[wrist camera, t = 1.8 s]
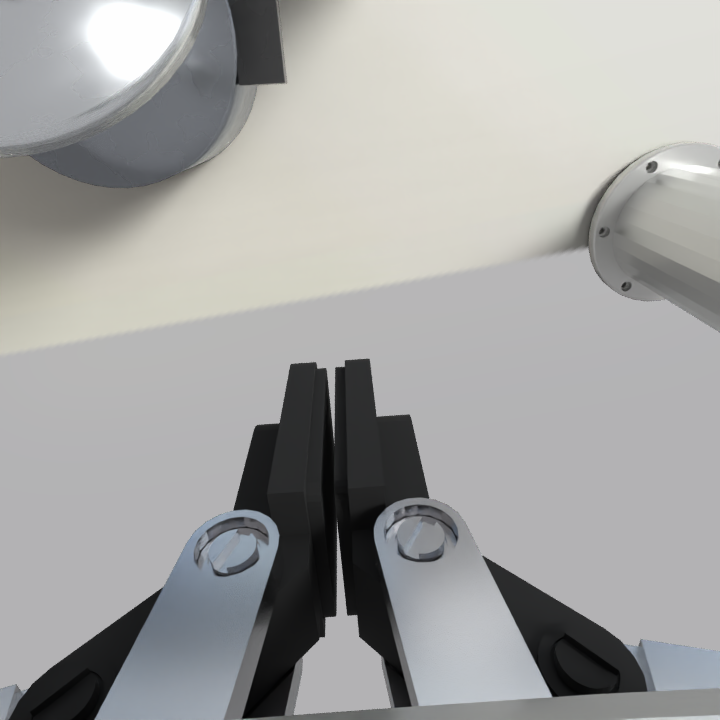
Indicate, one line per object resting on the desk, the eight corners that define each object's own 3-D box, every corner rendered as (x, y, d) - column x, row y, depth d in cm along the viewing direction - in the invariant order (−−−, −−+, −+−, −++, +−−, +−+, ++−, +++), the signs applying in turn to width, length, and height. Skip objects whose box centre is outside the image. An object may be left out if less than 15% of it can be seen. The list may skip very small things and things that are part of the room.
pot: (275, -130, 30) (250, -214, 22) (303, 161, 37) (293, 177, 29) (-53, -111, 30) (-199, -189, 22) (44, 176, 37) (-37, 197, 29)
